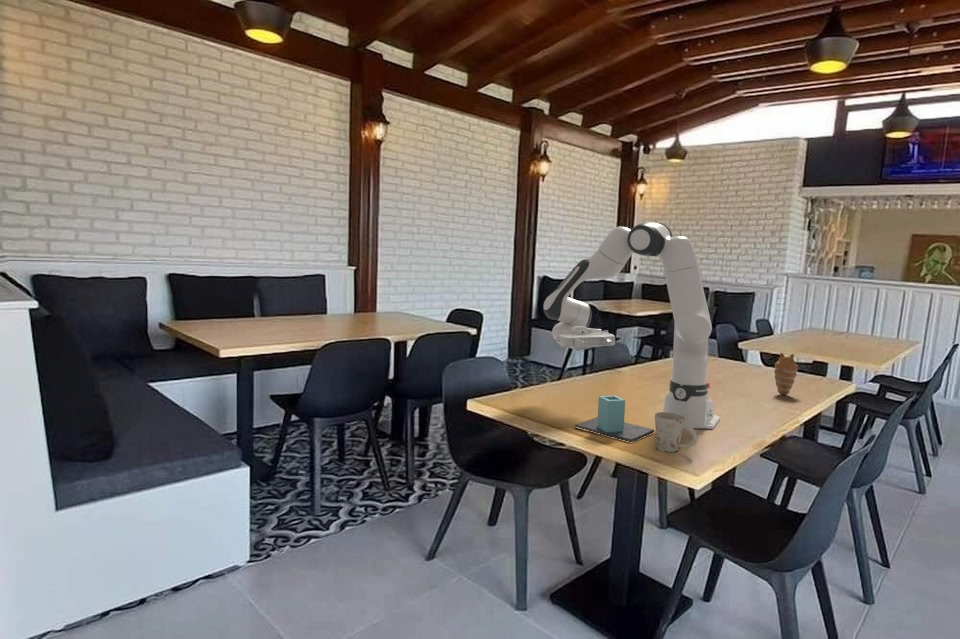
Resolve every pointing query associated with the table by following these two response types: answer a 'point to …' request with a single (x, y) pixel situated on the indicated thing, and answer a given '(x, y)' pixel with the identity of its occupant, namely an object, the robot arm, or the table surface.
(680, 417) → the mug
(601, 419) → the sleeve
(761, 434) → the table surface
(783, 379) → the cat ice cream
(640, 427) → the plate
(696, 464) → the table surface
